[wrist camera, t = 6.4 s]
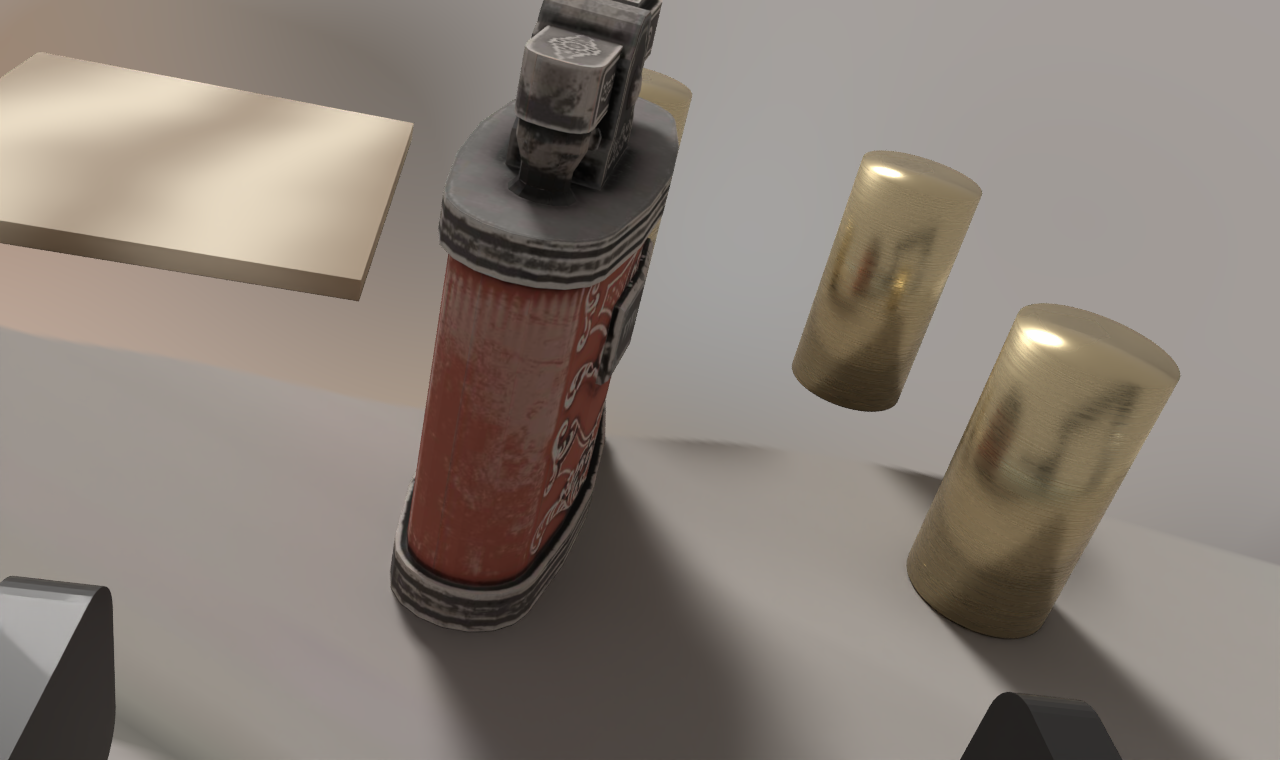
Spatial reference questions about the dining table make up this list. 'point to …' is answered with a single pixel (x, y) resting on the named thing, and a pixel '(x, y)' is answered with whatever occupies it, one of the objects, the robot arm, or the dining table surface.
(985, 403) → the spacer posts
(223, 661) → the dining table surface
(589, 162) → the lighter
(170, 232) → the pad
